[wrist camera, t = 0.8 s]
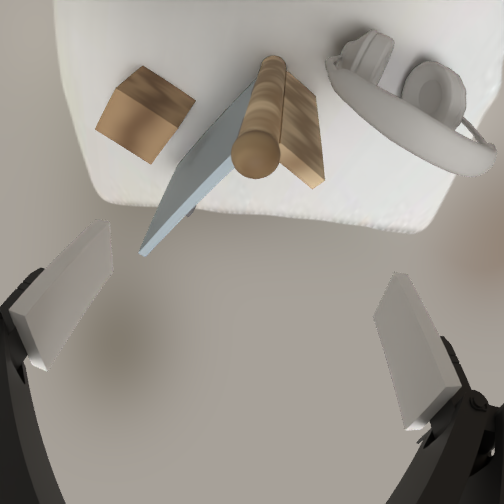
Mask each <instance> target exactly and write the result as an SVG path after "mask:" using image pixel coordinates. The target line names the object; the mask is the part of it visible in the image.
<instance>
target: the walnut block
mask: <svg viewBox="0 0 504 504" xmlns="http://www.w3.org/2000/svg"><path fill="white" fill-rule="evenodd" d="M195 101H196V100H194V99H193V98H192V97H190V96H189V95H187V94H186V93H184V92H183V91H181V90H180V89H178V88H177V87H175V86H174V85H172V84H171V83H169V82H168V81H166V80H165V79H163V78H162V77H160V76H158V75H157V74H155V73H154V72H152V71H151V70H149V69H147V68H146V67H144V66H142V67H141V68H139V69H138V70H137V71H136V72H134V73H133V74H132V75H131V76H130V77H128V78H127V79H126V80H125V81H124V82H122V83H121V84H120V85H119V86H118V87H117V88H116V89H115V91H114V93H113V94H112V96H111V98H110V100H109V102H108V104H107V106H106V108H105V110H104V112H103V114H102V116H101V118H100V120H99V122H98V124H97V126H96V128H95V130H97V131H98V132H100V133H102V134H103V135H105V136H106V137H108V138H110V139H111V140H113V141H114V142H116V143H118V144H119V145H121V146H122V147H124V148H126V149H127V150H129V151H130V152H132V153H133V154H135V155H137V156H138V157H140V158H141V159H143V160H144V161H146V162H148V163H149V164H152V162H153V161H154V160H155V158H156V157H157V156H158V154H159V153H160V151H161V150H162V149H163V147H164V146H165V145H166V143H167V142H168V141H169V139H170V138H171V137H172V136H173V134H174V133H175V132H176V130H177V129H178V128H179V126H180V124H181V123H182V121H183V120H184V118H185V116H186V115H187V113H188V112H189V110H190V109H191V107H192V106H193V104H194V103H195Z"/></svg>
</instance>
